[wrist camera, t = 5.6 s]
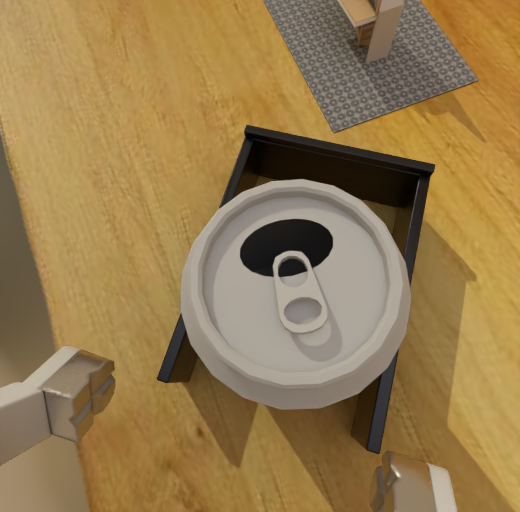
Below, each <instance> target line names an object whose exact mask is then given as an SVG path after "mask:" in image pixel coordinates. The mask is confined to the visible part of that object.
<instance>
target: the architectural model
mask: <svg viewBox="0 0 520 512" xmlns="http://www.w3.org/2000/svg"><path fill="white" fill-rule="evenodd" d="M263 1H264V2H265V4H266V6H267V8H268V10H269V12H270V14H271V16H272V17H273V19H274V21H275V23H276V25H277V27H278V29H279V31H280V32H281V34H282V36H283V38H284V40H285V42H286V44H287V46H288V48H289V49H290V51H291V53H292V55H293V57H294V59H295V61H296V63H297V64H298V66H299V68H300V70H301V72H302V74H303V76H304V78H305V80H306V81H307V83H308V85H309V87H310V89H311V91H312V93H313V95H314V96H315V98H316V100H317V102H318V104H319V106H320V108H321V110H322V112H323V113H324V115H325V117H326V119H327V121H328V123H329V125H330V127H331V128H332V130H333V132H337V131H339V130H342V129H345V128H348V127H350V126H353V125H356V124H359V123H361V122H364V121H367V120H370V119H373V118H375V117H378V116H381V115H384V114H386V113H389V112H392V111H395V110H397V109H400V108H403V107H406V106H408V105H411V104H414V103H417V102H420V101H422V100H425V99H428V98H431V97H433V96H436V95H439V94H442V93H444V92H447V91H450V90H453V89H456V88H458V87H461V86H464V85H467V84H469V83H472V82H475V81H478V78H477V77H476V75H475V74H474V73H473V71H472V70H471V69H470V67H469V66H468V65H467V63H466V62H465V61H464V59H463V58H462V57H461V55H460V54H459V52H458V51H457V50H456V48H455V47H454V46H453V44H452V43H451V42H450V40H449V39H448V38H447V36H446V35H445V33H444V32H443V31H442V29H441V28H440V27H439V25H438V24H437V23H436V21H435V20H434V19H433V17H432V16H431V15H430V13H429V12H428V10H427V9H426V8H425V6H424V5H423V4H422V2H421V1H420V0H263Z"/></svg>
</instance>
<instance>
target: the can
mask: <svg viewBox="0 0 520 512" xmlns="http://www.w3.org/2000/svg"><path fill="white" fill-rule="evenodd" d="M411 300H412V297H411V291H410V285H409V279H408V274H407V268H406V262H405V261H404V259H403V257H402V255H401V253H400V251H399V249H398V247H397V245H396V244H395V242H394V240H393V238H392V236H391V234H390V232H389V231H388V229H387V227H386V225H385V223H384V222H383V221H382V220H381V219H380V218H379V217H378V216H377V215H376V214H375V213H374V212H373V211H372V210H371V209H370V208H369V207H368V206H367V205H366V204H365V203H364V202H363V201H361V200H359V199H358V198H356V197H354V196H352V195H350V194H348V193H346V192H344V191H343V190H341V189H339V188H337V187H335V186H333V185H328V184H323V183H319V182H314V181H309V180H305V179H298V180H283V181H271V182H268V183H266V184H263V185H260V186H257V187H254V188H252V189H249V190H246V191H243V192H242V193H240V194H239V195H238V196H236V197H235V198H234V199H232V200H231V201H229V202H228V203H227V204H225V205H224V206H223V207H221V208H220V209H218V210H217V212H216V213H215V214H214V216H213V217H212V218H211V220H210V221H209V222H208V224H207V225H206V226H205V228H204V229H203V230H202V232H201V233H200V234H199V236H198V237H197V238H196V240H195V241H194V242H193V244H192V247H191V250H190V252H189V255H188V258H187V261H186V264H185V266H184V269H183V272H182V275H181V305H180V310H181V314H182V317H183V320H184V324H185V327H186V331H187V334H188V337H189V341H190V344H191V346H192V347H193V348H194V350H195V351H196V353H197V354H198V356H199V357H200V358H201V360H202V361H203V363H204V364H205V366H206V367H207V368H208V370H209V371H210V373H211V374H212V375H213V376H214V377H215V378H217V379H218V380H220V381H221V382H222V383H224V384H225V385H226V386H228V387H229V388H230V389H232V390H233V391H235V392H236V393H237V394H239V395H240V396H241V397H243V398H245V399H248V400H251V401H255V402H258V403H261V404H264V405H268V406H271V407H274V408H277V409H280V410H289V409H318V408H324V407H326V406H329V405H331V404H334V403H336V402H339V401H341V400H344V399H346V398H349V397H351V396H354V395H356V394H359V393H360V392H361V391H362V390H363V389H364V388H365V387H367V386H368V385H369V384H370V383H371V382H372V381H373V380H374V379H376V378H377V377H378V376H379V375H380V374H381V373H382V372H384V371H385V370H386V369H387V368H388V366H389V364H390V363H391V361H392V359H393V357H394V355H395V354H396V352H397V350H398V348H399V346H400V344H401V343H402V341H403V339H404V337H405V335H406V331H407V324H408V318H409V312H410V306H411Z"/></svg>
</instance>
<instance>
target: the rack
mask: <svg viewBox="0 0 520 512" xmlns="http://www.w3.org/2000/svg"><path fill="white" fill-rule="evenodd" d="M244 134H245V138H244V141H243V144H242V147H241V149H240V152H239V155H238V158H237V160H236V163H235V166H234V169H233V171H232V174H231V177H230V180H229V182H228V185H227V188H226V191H225V193H224V196H223V199H222V202H221V204H220V207H219V209H220V208H221V207H223V206H224V205H225V204H227V203H228V202H229V201H231V200H232V199H234V198H235V197H236V196H238V195H239V194H240V193H242V192H243V191H246V190H249V189H252V188H254V187H255V185H256V182H257V179H258V176H259V175H260V176H265V177H269V178H273V179H278V180H282V181H283V180H298V179H305V180H309V181H314V182H319V183H323V184H328V185H333V186H335V187H337V188H339V189H341V190H343V191H344V192H346V193H348V194H350V195H352V196H354V197H356V198H360V199H364V200H369V201H373V202H377V203H382V204H386V205H390V206H395V207H398V210H397V215H396V220H395V224H394V229H393V234H392V238H393V240H394V242H395V244H396V245H397V247H398V249H399V251H400V253H401V255H402V257H403V259H404V261H405V262H406V268H407V274H408V279H409V285H411V280H412V274H413V269H414V263H415V258H416V252H417V247H418V242H419V236H420V231H421V225H422V220H423V214H424V209H425V203H426V198H427V192H428V187H429V181H430V176H431V175H432V174H433V172H434V169H435V164H430V163H426V162H421V161H416V160H411V159H407V158H402V157H397V156H392V155H388V154H383V153H378V152H373V151H369V150H364V149H359V148H354V147H350V146H345V145H340V144H335V143H331V142H326V141H321V140H316V139H311V138H307V137H302V136H297V135H292V134H288V133H283V132H278V131H273V130H269V129H264V128H259V127H254V126H250V125H246V128H245V130H244ZM398 351H399V348H398V350H397V352H396V354H395V355H394V357H393V359H392V361H391V363H390V364H389V366H388V368H387V369H386V370H385V371H384V372H382V373H381V374H380V375H379V376H378V377H377V378H376V379H374V380H373V381H372V382H371V383H370V384H369V385H368V386H367V387H365V388H364V389H363V390H362V391H361V392H360V394H359V398H358V403H357V408H356V413H355V418H354V423H353V428H352V432H351V436H352V437H353V438H354V439H355V440H356V441H357V442H358V443H360V444H361V445H362V446H363V447H364V448H365V449H366V450H367V451H370V452H373V453H376V454H379V453H380V449H381V443H382V438H383V433H384V427H385V422H386V416H387V411H388V405H389V400H390V394H391V389H392V383H393V378H394V373H395V367H396V362H397V356H398ZM197 356H198V354H197V353H196V351H195V350H194V348H193V347H192V346H191V344H190V341H189V337H188V334H187V331H186V327H185V324H184V320H183V317H182V314H180V317H179V319H178V322H177V325H176V328H175V330H174V333H173V336H172V339H171V341H170V344H169V347H168V350H167V352H166V355H165V358H164V361H163V363H162V366H161V369H160V372H159V374H158V377H157V380H159V381H162V382H165V383H178V382H189V380H190V377H191V374H192V371H193V368H194V365H195V362H196V359H197Z"/></svg>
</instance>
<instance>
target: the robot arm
mask: <svg viewBox="0 0 520 512" xmlns="http://www.w3.org/2000/svg"><path fill="white" fill-rule="evenodd" d="M114 370H115V367H114V361H112V360H109V359H106V358H104V357H101V356H98V355H95V354H92V353H90V352H87V351H84V350H81V349H78V348H75V347H72V346H69V345H67V346H64V347H62V348H61V349H59V350H58V351H57V352H56V353H55V354H54V355H53V356H52V357H50V358H49V359H48V360H47V361H46V362H45V363H44V364H43V365H42V366H40V367H39V368H38V369H37V370H36V371H35V372H34V373H33V374H32V375H30V376H29V377H28V378H27V379H26V380H25V381H24V382H23V383H20V382H15V383H12V384H10V385H7V386H4V387H2V388H0V466H1V465H2V464H4V463H6V462H7V461H9V460H11V459H12V458H14V457H16V456H17V455H19V454H21V453H23V452H25V451H26V450H28V449H30V448H31V447H33V446H35V445H36V444H38V443H40V442H41V441H43V440H45V439H47V438H49V437H50V436H51V434H52V435H55V436H58V437H61V438H64V439H68V440H70V441H73V442H76V443H79V441H80V440H81V439H82V437H83V436H84V435H85V434H86V432H87V431H88V430H89V428H90V427H91V426H92V425H93V416H94V415H96V414H98V413H100V412H102V411H103V410H104V409H105V408H106V406H107V405H108V404H109V402H110V400H111V398H112V396H113V394H114V390H115V379H114V377H113V376H112V375H111V373H112V372H113V371H114ZM370 506H371V507H372V509H373V511H374V512H458V510H457V506H456V501H455V497H454V493H453V488H452V484H451V479H450V475H449V473H448V471H447V469H444V468H441V467H438V466H435V465H432V464H429V463H425V462H424V461H421V460H418V459H415V458H412V457H408V456H405V455H402V454H399V453H396V452H392V451H389V450H387V451H386V452H385V453H384V455H383V457H382V466H380V467H377V468H376V470H375V473H374V475H373V478H372V482H371V489H370Z"/></svg>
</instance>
